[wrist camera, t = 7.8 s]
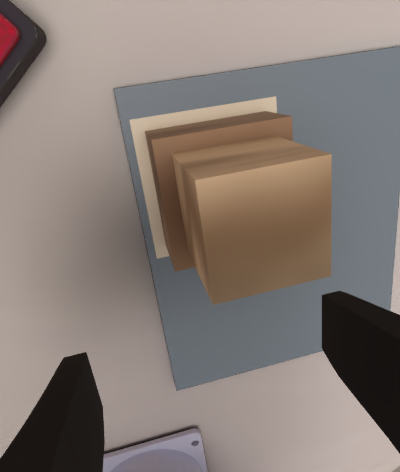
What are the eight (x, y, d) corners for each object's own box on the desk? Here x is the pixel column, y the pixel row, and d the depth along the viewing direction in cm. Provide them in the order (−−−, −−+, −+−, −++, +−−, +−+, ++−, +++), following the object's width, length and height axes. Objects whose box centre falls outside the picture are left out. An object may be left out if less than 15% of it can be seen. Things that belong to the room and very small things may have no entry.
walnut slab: (272, 223, 21) (296, 244, 19) (166, 246, 20) (175, 271, 18) (265, 111, 19) (291, 116, 16) (144, 131, 18) (151, 140, 15)
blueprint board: (382, 327, 27) (389, 333, 26) (175, 384, 25) (176, 392, 24) (402, 45, 20) (412, 44, 19) (113, 88, 18) (114, 89, 17)
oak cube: (280, 232, 18) (331, 276, 14) (188, 252, 17) (212, 305, 13) (275, 135, 16) (331, 153, 12) (171, 154, 16) (195, 180, 12)
